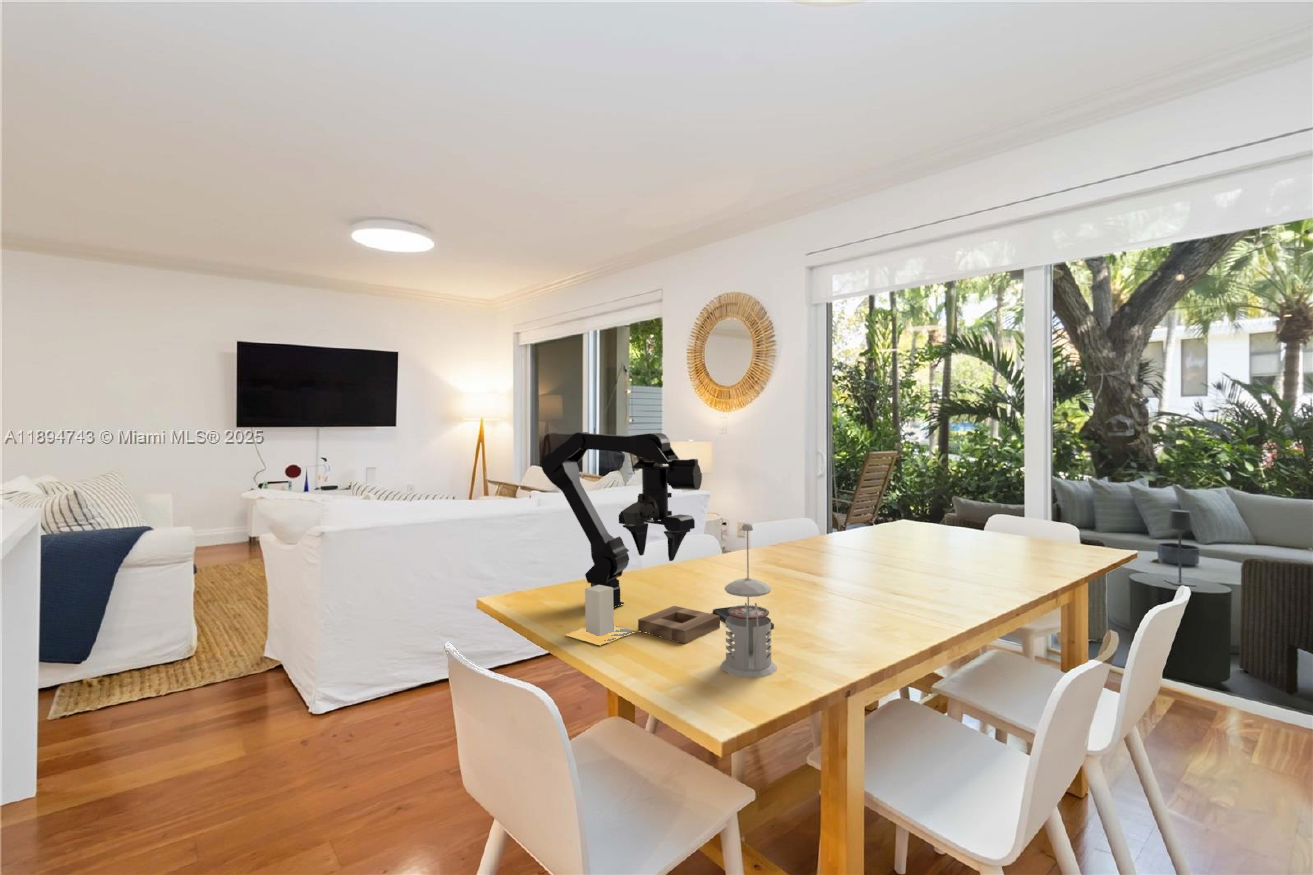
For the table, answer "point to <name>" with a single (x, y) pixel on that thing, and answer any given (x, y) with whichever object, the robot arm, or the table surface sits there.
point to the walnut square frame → (679, 624)
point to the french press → (748, 630)
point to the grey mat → (621, 634)
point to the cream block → (599, 610)
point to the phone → (727, 614)
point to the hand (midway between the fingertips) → (656, 557)
